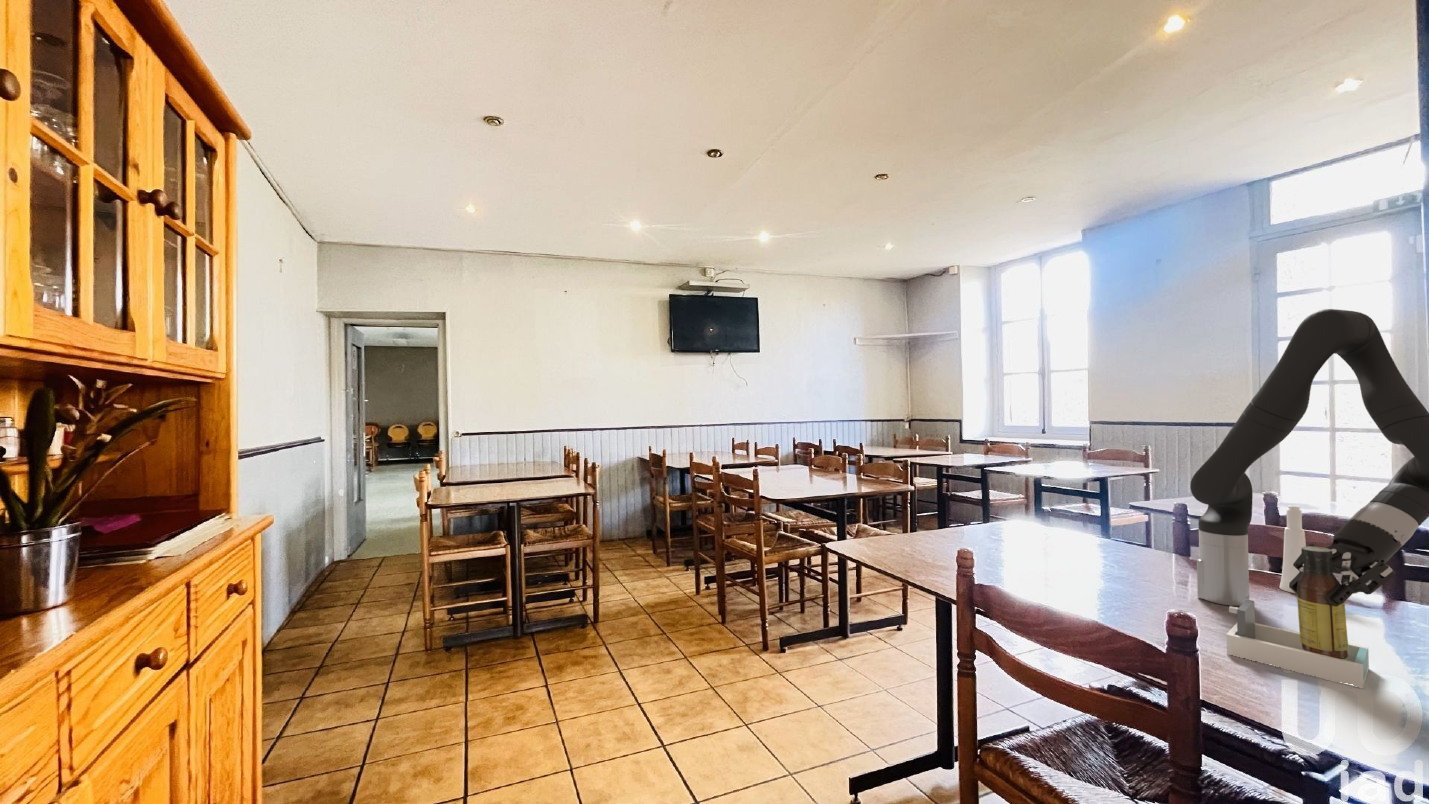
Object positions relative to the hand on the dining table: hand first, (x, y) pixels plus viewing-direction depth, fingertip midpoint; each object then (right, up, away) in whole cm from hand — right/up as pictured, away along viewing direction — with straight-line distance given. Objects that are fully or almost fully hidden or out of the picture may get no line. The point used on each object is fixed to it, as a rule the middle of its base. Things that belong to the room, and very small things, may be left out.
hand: (1311, 596), depth 108 cm
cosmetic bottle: (+39, -13, +41) cm, 58 cm away
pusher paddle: (-5, -12, +9) cm, 16 cm away
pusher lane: (0, -13, +3) cm, 14 cm away
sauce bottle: (+2, -11, 0) cm, 11 cm away
